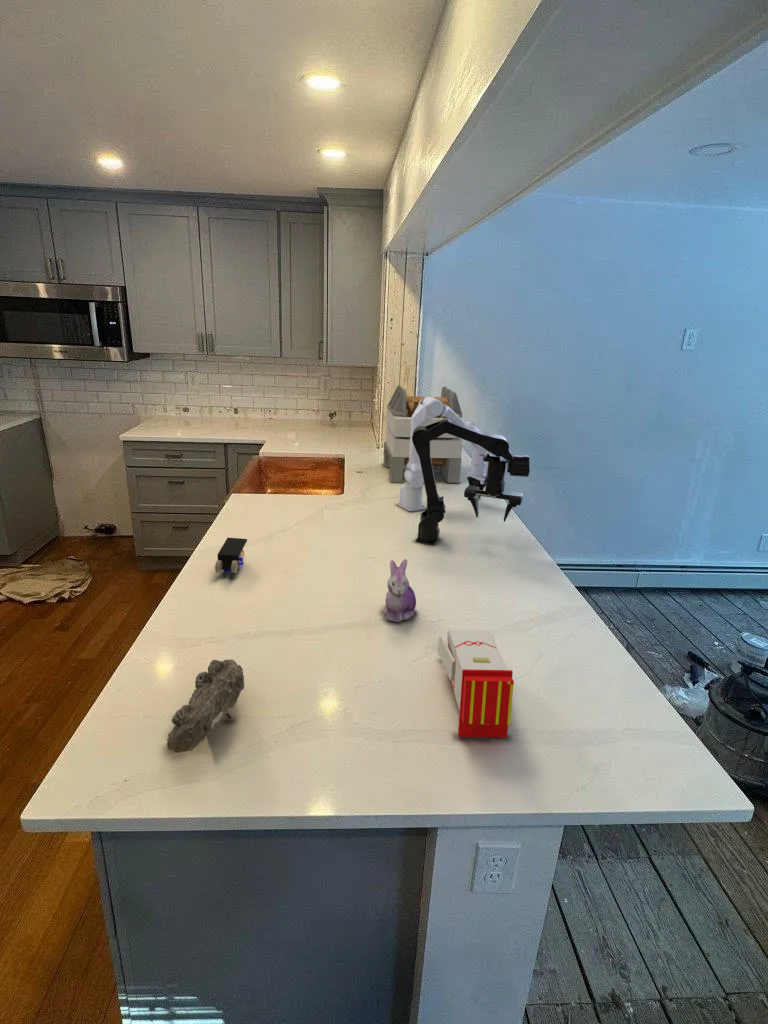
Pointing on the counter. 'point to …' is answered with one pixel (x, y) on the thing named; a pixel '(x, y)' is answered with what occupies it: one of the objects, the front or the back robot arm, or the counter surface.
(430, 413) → the back robot arm
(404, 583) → the figurine
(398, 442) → the transformer
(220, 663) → the fossil
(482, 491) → the front robot arm
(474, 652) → the toy
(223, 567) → the black wheeled block
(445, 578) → the counter surface
